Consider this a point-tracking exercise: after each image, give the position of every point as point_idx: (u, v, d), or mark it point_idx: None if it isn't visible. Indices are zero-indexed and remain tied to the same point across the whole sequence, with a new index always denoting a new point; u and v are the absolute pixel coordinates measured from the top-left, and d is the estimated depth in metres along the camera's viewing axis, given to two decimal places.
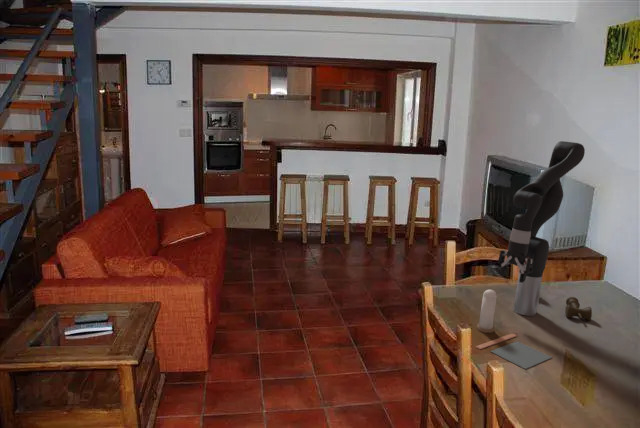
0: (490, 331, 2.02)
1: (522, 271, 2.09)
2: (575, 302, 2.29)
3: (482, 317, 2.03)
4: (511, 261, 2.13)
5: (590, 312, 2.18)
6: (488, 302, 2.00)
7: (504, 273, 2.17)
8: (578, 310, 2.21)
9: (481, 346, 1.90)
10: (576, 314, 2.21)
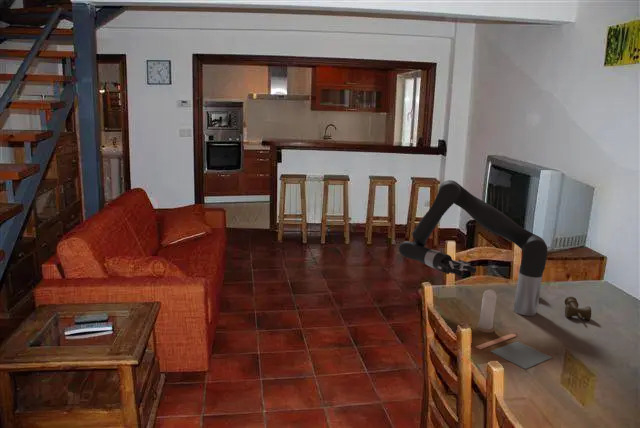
0: (490, 331, 2.02)
1: None
2: (574, 302, 2.29)
3: (482, 317, 2.03)
4: None
5: (590, 312, 2.18)
6: (488, 302, 2.00)
7: (472, 269, 2.12)
8: (578, 310, 2.21)
9: (481, 346, 1.90)
10: (576, 314, 2.21)
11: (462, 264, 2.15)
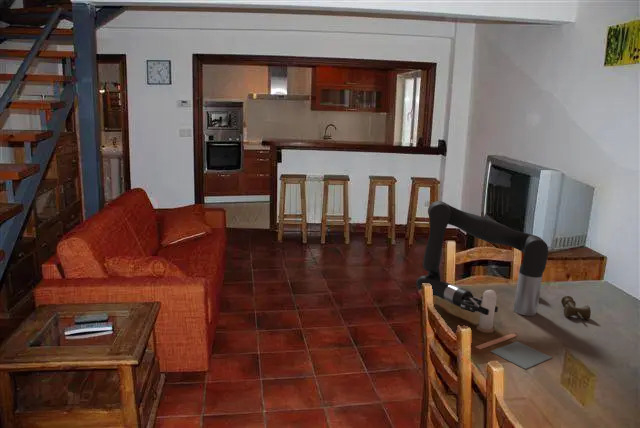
0: (490, 331, 2.02)
1: None
2: (571, 301, 2.30)
3: (482, 317, 2.03)
4: None
5: (589, 311, 2.19)
6: (488, 302, 2.00)
7: None
8: (577, 309, 2.21)
9: (481, 346, 1.90)
10: (575, 313, 2.21)
11: None
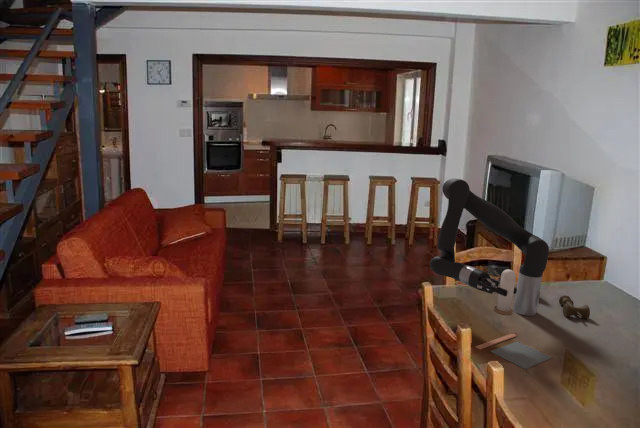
0: (508, 313, 1.91)
1: None
2: (569, 300, 2.30)
3: (500, 298, 1.92)
4: None
5: (588, 310, 2.20)
6: (507, 282, 1.89)
7: None
8: (576, 309, 2.22)
9: (481, 346, 1.90)
10: (574, 313, 2.22)
11: None
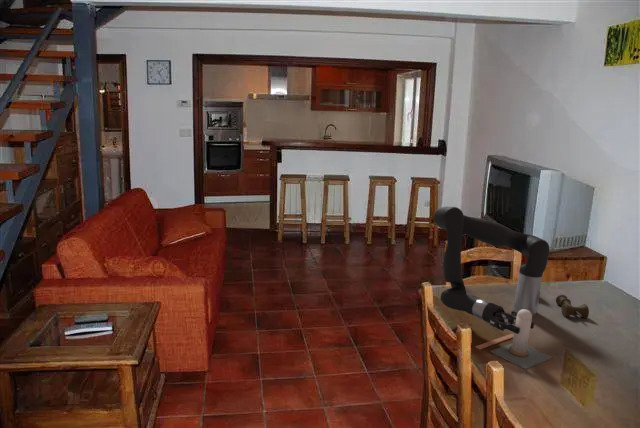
0: (524, 355, 1.84)
1: None
2: (567, 300, 2.31)
3: (516, 339, 1.84)
4: None
5: (587, 310, 2.20)
6: (523, 323, 1.82)
7: None
8: (575, 308, 2.22)
9: (481, 346, 1.90)
10: (574, 313, 2.22)
11: None
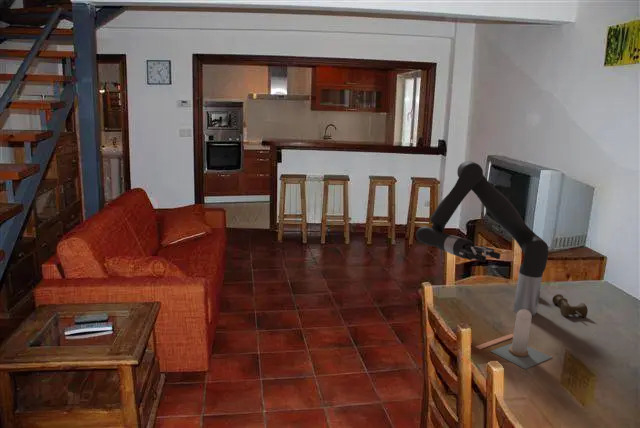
0: (524, 355, 1.84)
1: None
2: (564, 299, 2.31)
3: (515, 339, 1.84)
4: None
5: (586, 309, 2.21)
6: (522, 323, 1.82)
7: (496, 255, 1.99)
8: (574, 308, 2.23)
9: (481, 346, 1.90)
10: (573, 312, 2.22)
11: (485, 250, 2.02)
